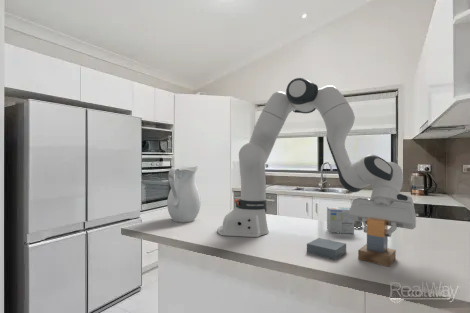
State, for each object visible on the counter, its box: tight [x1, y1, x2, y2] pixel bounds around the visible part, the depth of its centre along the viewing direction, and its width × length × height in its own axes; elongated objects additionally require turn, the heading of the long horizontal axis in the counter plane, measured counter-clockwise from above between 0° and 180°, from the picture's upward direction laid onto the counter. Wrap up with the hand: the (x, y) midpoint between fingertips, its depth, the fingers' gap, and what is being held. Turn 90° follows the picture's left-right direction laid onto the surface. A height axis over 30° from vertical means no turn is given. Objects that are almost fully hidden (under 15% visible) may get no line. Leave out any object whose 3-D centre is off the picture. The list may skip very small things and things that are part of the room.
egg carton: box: [354, 221, 363, 229], centre depth 136 cm, size 11×8×4 cm
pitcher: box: [166, 165, 202, 223], centre depth 140 cm, size 24×17×28 cm
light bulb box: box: [326, 206, 355, 234], centre depth 126 cm, size 11×7×11 cm, turn 84°
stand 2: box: [357, 243, 397, 267], centre depth 90 cm, size 9×9×3 cm
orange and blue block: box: [366, 217, 389, 253], centre depth 90 cm, size 5×5×10 cm
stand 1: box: [306, 237, 347, 260], centre depth 96 cm, size 10×10×3 cm
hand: (376, 233), depth 90 cm, fingers closed on orange and blue block, 5 cm apart
